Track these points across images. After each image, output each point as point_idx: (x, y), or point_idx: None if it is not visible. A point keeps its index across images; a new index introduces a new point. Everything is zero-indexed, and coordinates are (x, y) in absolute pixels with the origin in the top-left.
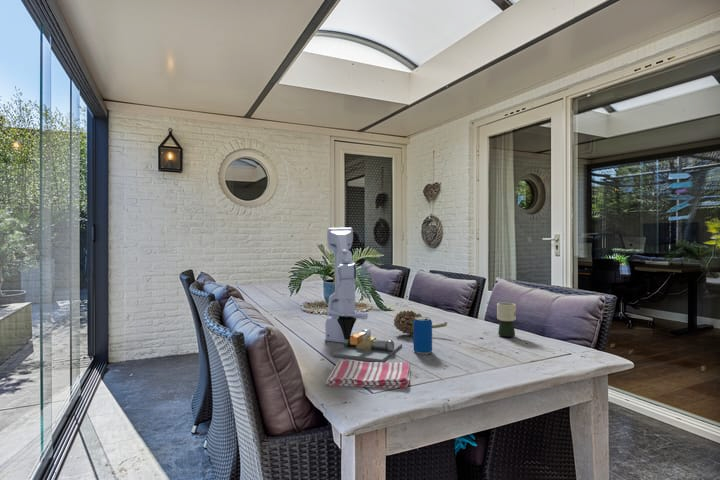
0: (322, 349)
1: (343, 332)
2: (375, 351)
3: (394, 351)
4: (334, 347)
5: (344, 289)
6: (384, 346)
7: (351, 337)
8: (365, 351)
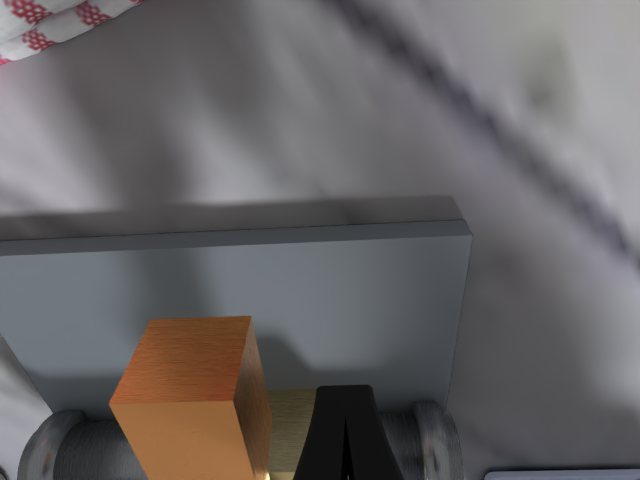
0: (630, 330)
1: (382, 469)
2: None
3: None
4: (540, 391)
5: None
6: (83, 443)
7: (210, 393)
8: None
